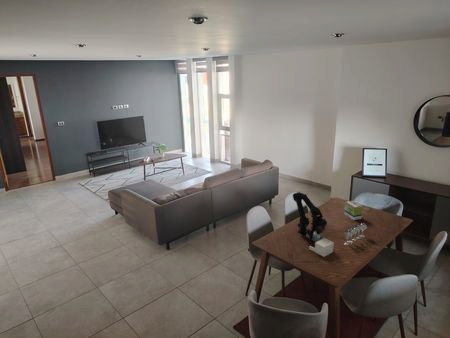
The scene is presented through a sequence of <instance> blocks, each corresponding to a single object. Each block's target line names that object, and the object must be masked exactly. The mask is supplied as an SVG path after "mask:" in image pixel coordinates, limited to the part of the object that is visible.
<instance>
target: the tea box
mask: <svg viewBox="0 0 450 338" xmlns="http://www.w3.org/2000/svg"><path fill="white" fill-rule="evenodd" d="M343 213H344V215H345V216H346V217H348V218H350V219H351V220H353V221H356V220H361V219H362V216H363V205H362V204H360V203H358V202H356V201H354V200H347V201H345V202H344V212H343Z"/></svg>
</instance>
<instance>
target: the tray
mask: <svg viewBox="0 0 450 338" xmlns="http://www.w3.org/2000/svg"><path fill="white" fill-rule="evenodd" d="M305 234H306V235H305V237H306V238H307V239H309V240H311V239H310V237H309V235H308V234H307V233H305ZM322 239H324V237H323V236H321V235H320V234H317V232H314V235H313V236H312V240H311V241H314V243H316V242H318V241H320V240H322Z"/></svg>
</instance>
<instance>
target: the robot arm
mask: <svg viewBox="0 0 450 338" xmlns="http://www.w3.org/2000/svg"><path fill="white" fill-rule="evenodd" d="M292 199H293V201H294V202H296V206H297V210H298V215H299V223H297V227H298V231H297V233H298V234H301V235H305V234H308V235H309V237H310V239H309V240H311V241H313V240H312V236H313V235H314V233H316V234H319V235H320V234H322V233H324V232H325V231H326V226H327V223H328V222H327V221H326V219H325V218H324V216H323V213H322V212H321V210H320V208H318V207H317V206H315V205H314V204H313V202H312V201H311V199H310V198H309V197H308V195H307V194H306V193H303V192H300V191H298V192H295V193H293V194H292ZM303 202H304V204H305V205H306V206H307V207H308V208H309V212H310V214H311V215H310V217H311V218H312V219H311V221H312V222H311V223H310V219H309V217H307V216H306V213H305V210H304V206H303ZM310 224H311V227H310V228H308V229H307V227H308V226H309V225H310Z"/></svg>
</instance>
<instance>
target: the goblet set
mask: <svg viewBox="0 0 450 338" xmlns="http://www.w3.org/2000/svg"><path fill="white" fill-rule="evenodd" d="M367 228H368V227H367V224H366V223H364V222H361V223H360V224H359V223H358V224H357V225H354V226H353V227H350V226H349V227H348V230H345V231H344V237H345V238H346V240H347V241H345V242H344V243H343V244H344V245H345V246H350V244H354V242H357V241H358V240H360V239H362V238H365V237H366V236H365V235H364V233H363V232H364V230H366V229H367ZM360 231H361V234H360ZM357 233H358V234H357ZM356 234H357V236H356ZM352 236H355V237H354V238H352ZM349 238H351V239H349ZM353 240H354V241H353ZM356 240H357V241H356Z"/></svg>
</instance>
